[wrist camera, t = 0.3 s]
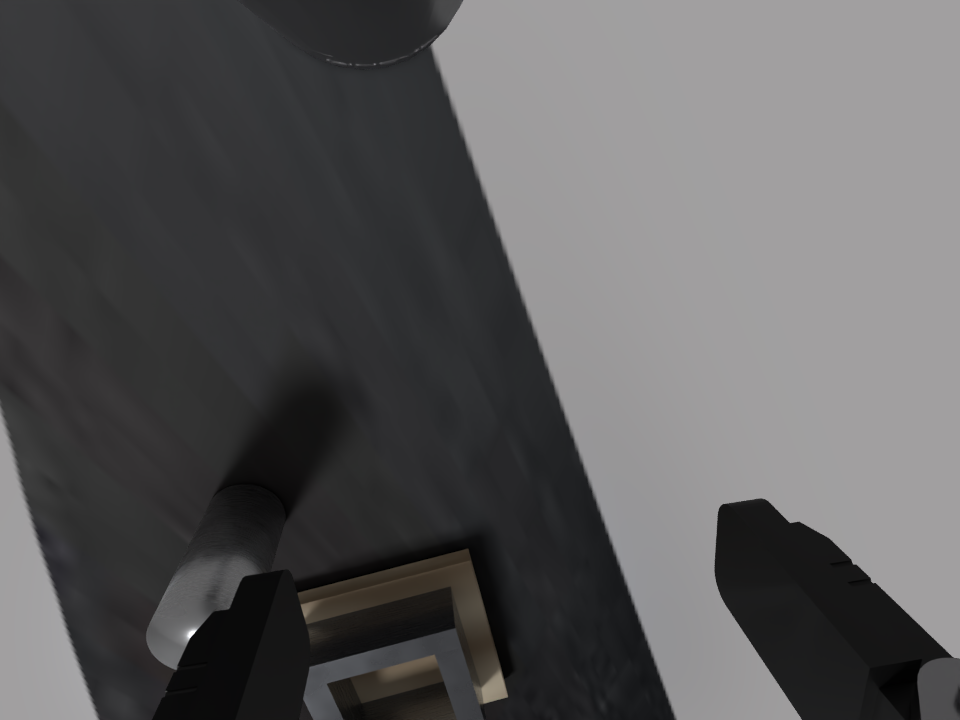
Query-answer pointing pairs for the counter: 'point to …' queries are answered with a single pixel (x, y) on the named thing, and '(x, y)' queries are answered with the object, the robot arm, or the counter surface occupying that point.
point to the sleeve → (393, 661)
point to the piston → (216, 565)
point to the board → (403, 585)
